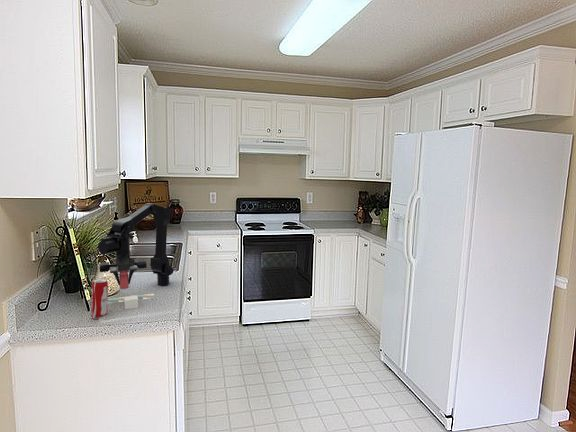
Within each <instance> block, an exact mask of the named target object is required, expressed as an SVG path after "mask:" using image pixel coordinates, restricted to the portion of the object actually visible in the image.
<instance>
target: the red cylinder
mask: <svg viewBox="0 0 576 432" xmlns="http://www.w3.org/2000/svg"><path fill="white" fill-rule="evenodd" d="M118 275H119V281H120V285H119V289H120V290H127V289H128V288H130V287H129V286H130V284H129V282H128V278H129V270H122V271H119V274H118Z"/></svg>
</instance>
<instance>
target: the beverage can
mask: <svg viewBox="0 0 576 432" xmlns="http://www.w3.org/2000/svg"><path fill="white" fill-rule="evenodd" d="M108 285H109V283H108V280H107V279H106V278H96V279H93V280H92V283H91V298H90V299H91V302H90V306H91V307H90V317H91V319H95V320H99V318H101V317H104V316H106V315H108V304H107V299H109V298H108V295H109V294H108V292H109V291H108V290H109V286H108Z"/></svg>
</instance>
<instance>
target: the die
mask: <svg viewBox="0 0 576 432" xmlns="http://www.w3.org/2000/svg"><path fill="white" fill-rule="evenodd" d="M123 297H124V301H125V302H124V309H125V310H134V309H138V308H139V300H138V297H137V294H134V295H126V296H123Z"/></svg>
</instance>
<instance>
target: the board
mask: <svg viewBox="0 0 576 432" xmlns="http://www.w3.org/2000/svg"><path fill="white" fill-rule="evenodd" d="M136 295H137V294H136ZM124 297H125V296H122V297H115V298H114V297H113V298H107V305H110V304H117V303H125V301H124ZM137 297H138V301H140V300H141V301H142V300H149V299H155V298H156V297H155V294H154V293H147V294H140V295H139V294H138V295H137Z"/></svg>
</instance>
